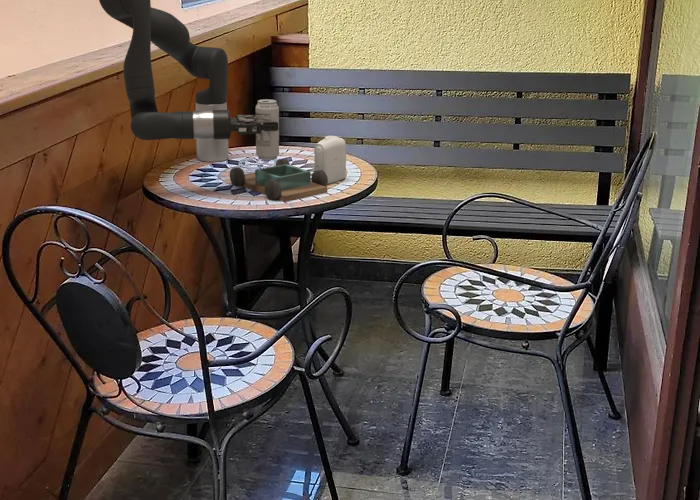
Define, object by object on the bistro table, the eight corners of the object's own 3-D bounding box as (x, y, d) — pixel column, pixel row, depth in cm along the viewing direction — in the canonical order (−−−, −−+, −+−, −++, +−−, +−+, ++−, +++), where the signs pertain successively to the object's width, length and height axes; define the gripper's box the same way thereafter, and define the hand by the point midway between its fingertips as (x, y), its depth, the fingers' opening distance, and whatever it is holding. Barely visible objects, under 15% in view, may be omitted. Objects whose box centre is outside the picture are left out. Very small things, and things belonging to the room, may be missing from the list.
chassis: (226, 183, 222) (226, 165, 220) (276, 173, 232) (276, 156, 231) (280, 203, 205) (279, 184, 203) (331, 191, 216) (331, 173, 214)
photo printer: (323, 186, 220) (324, 141, 216) (312, 183, 223) (312, 139, 219) (347, 179, 228) (348, 135, 224) (336, 176, 230) (336, 133, 226)
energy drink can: (283, 158, 213) (283, 101, 208) (266, 161, 209) (265, 103, 204) (268, 154, 217) (268, 98, 212) (251, 157, 213) (250, 100, 208)
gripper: (212, 115, 200) (279, 114, 203) (210, 105, 213) (273, 104, 216) (213, 145, 202) (280, 144, 205) (211, 133, 215) (274, 132, 219)
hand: (276, 123), depth 211 cm, fingers closed on energy drink can, 6 cm apart
